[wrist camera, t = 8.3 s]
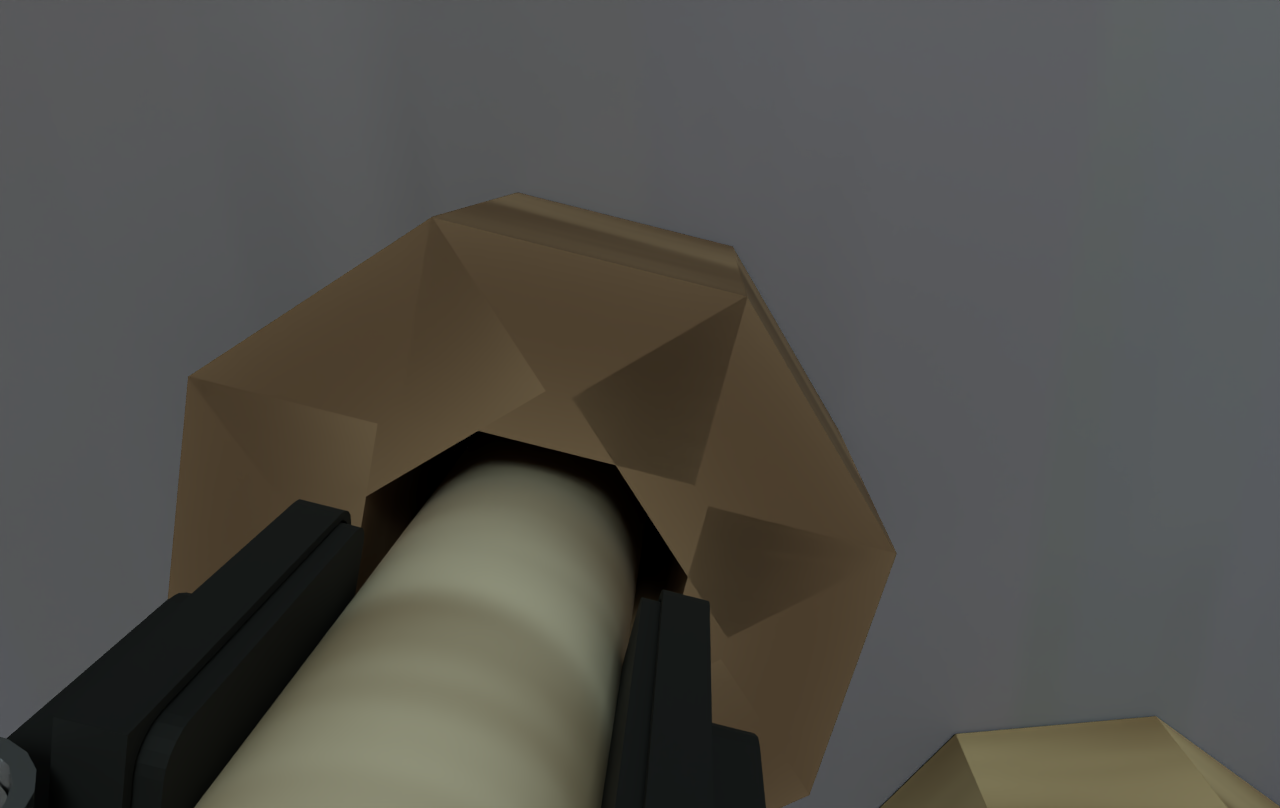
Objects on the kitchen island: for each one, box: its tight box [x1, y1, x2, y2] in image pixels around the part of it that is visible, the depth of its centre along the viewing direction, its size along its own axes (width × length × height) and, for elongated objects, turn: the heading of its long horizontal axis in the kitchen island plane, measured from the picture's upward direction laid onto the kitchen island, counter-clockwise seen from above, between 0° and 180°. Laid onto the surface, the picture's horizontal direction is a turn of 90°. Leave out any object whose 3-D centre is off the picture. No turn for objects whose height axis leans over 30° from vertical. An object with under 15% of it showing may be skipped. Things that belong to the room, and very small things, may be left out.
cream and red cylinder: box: [194, 431, 647, 808], centre depth 8 cm, size 3×3×14 cm
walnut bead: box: [168, 193, 897, 808], centre depth 14 cm, size 9×9×5 cm
